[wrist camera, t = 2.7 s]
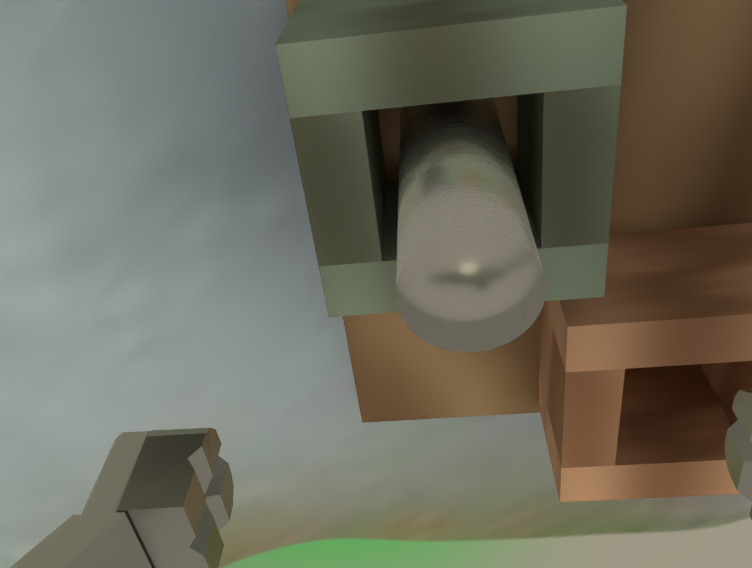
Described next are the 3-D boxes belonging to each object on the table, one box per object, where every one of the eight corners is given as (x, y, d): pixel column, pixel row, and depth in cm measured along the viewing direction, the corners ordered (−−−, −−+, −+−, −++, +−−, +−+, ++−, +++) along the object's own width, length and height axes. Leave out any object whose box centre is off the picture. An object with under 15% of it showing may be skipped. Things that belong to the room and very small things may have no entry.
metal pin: (493, 61, 21) (547, 223, 13) (495, 152, 23) (544, 347, 15) (395, 71, 22) (388, 237, 13) (405, 161, 23) (403, 356, 15)
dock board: (840, -98, 20) (999, -62, 15) (734, 375, 30) (805, 499, 25) (289, -31, 21) (250, 25, 16) (364, 398, 32) (355, 519, 26)
